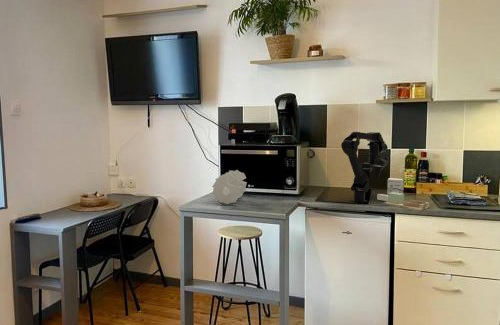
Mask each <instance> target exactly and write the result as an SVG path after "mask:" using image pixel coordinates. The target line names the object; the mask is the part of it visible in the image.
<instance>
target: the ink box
mask: <svg viewBox="0 0 500 325" xmlns="http://www.w3.org/2000/svg"><path fill="white" fill-rule="evenodd" d="M403 187H404V179H403V178H396V177H395V178H394V177H389V178H387V186H386V188H387V190H386V195H388V193H391V192H396V193H403V190H404V189H403Z"/></svg>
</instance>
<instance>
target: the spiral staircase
mask: <svg viewBox="0 0 500 325" xmlns="http://www.w3.org/2000/svg"><path fill="white" fill-rule="evenodd" d="M245 179H247V177H246V174H245V173H244V172H241V171H239V170H238V169H235V170H228V172H225V173H224V174H221V175H220V176H218V177H217V178H215V182H214V183H213V184H212V187H213V190H212V195H213V197H214V199H216V200H217V202H219V203H220V204H225V205H229V204H232V203H236V202H237V201H238V198H242V197H243V194H244V193H245V192H246V191H247V190H248V189H246V187H247V183H248V182H247V181H244V180H245Z"/></svg>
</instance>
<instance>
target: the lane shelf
mask: <svg viewBox="0 0 500 325" xmlns="http://www.w3.org/2000/svg"><path fill="white" fill-rule="evenodd" d="M382 204H383V205H387V206H392V207H398V208H403V209H409V210H414V211H420V212H421V211H423V210H426V209H428V208H431V205H430V202H428V201H421V200H415V199H409V201H405V200H404V202H403V203H400V204H398V203H392V202H388V201H384V202H383V203H382Z"/></svg>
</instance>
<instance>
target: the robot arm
mask: <svg viewBox="0 0 500 325" xmlns="http://www.w3.org/2000/svg"><path fill="white" fill-rule="evenodd" d="M360 140H366V141H367V142H369V143H367V146H368V147H369V148H368V154H367V157H368V161H367V162H362V163H361V162H360V159H359V157H358V150H359V145H360V144H361V141H360ZM340 147H341V150H342V152H343V153H344V154H345V155H346V156H347V157H348V160H349V164H350V166H351V168H352V172H353V175H354V178H353V183H352V184H351V186H350V190H351V191H352V192H353V191H354V195H353V200H351V202H353V203H359V204H364V203H366V202H368V200H366V193H368V192H369V189H370V180H371V176H372V171H373V170H374V171H375V172H374V173H375V177H376V179H379V177H380V175H381V172H382V170H383V169H385V167H387V165H388V164H390V160H389V159H390V158H389V157H383V158H382V155H381V154H380V153H385V152H387V150H388V148H389V147H388V145H387V143H386V142H385V141H384V138H383V136H382V134H381V132H380V131H379V132H378V131H377V132H376V131H373V132H372V131H370V132H360V131H353V132H351V133H350V134H349V135H348V136H346V137H345V138H344V139H343V140H342V142H341V145H340Z"/></svg>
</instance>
